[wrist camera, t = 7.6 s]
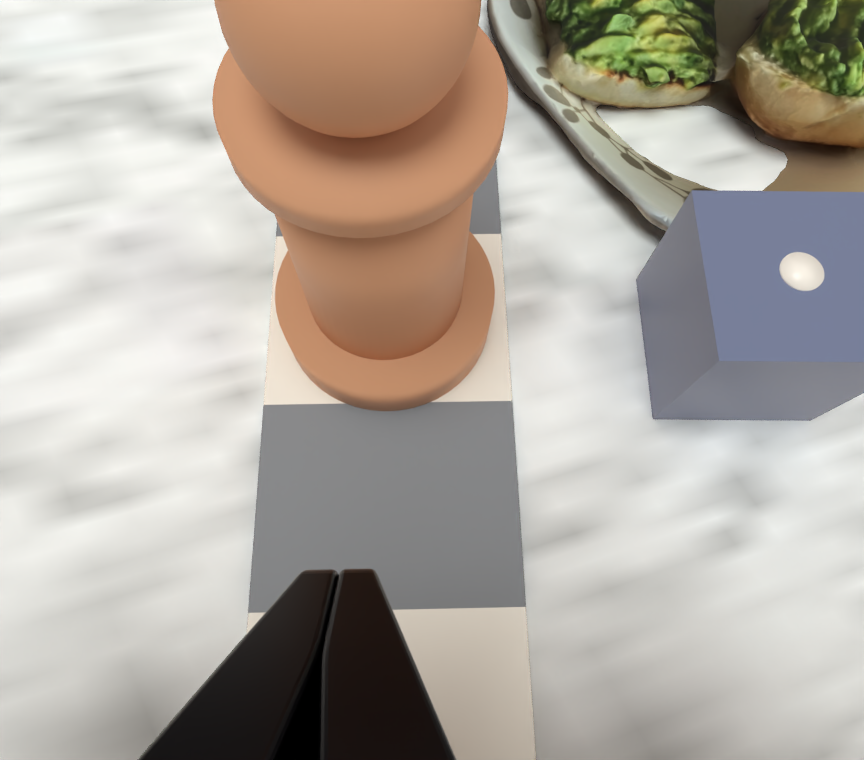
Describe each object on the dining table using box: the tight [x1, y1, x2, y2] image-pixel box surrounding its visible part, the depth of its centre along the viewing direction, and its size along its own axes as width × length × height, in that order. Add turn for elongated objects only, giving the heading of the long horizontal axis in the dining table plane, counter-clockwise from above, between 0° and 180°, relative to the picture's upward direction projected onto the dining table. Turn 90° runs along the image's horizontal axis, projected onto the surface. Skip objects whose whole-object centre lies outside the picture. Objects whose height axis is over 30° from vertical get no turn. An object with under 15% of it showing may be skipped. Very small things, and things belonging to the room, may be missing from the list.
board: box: [247, 160, 536, 760], centre depth 17 cm, size 28×7×1 cm, turn 1°
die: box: [636, 190, 864, 420], centre depth 17 cm, size 4×5×5 cm
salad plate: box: [487, 0, 864, 231], centre depth 21 cm, size 19×18×5 cm
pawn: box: [213, 0, 508, 411], centre depth 13 cm, size 6×6×12 cm
